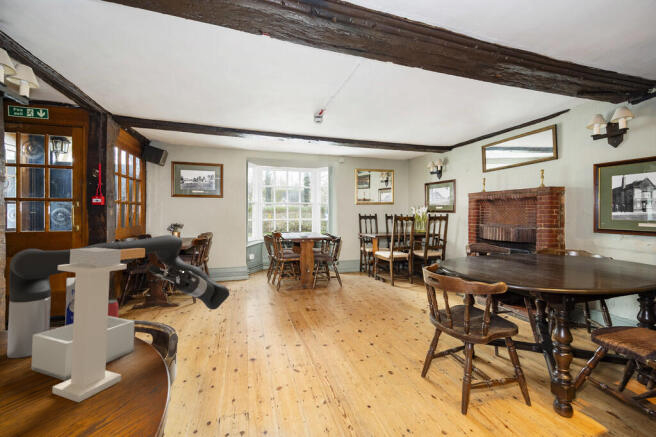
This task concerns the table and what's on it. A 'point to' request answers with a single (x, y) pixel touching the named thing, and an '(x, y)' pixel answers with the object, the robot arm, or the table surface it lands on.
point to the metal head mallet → (103, 256)
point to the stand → (89, 334)
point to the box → (57, 346)
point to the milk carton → (70, 301)
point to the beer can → (113, 308)
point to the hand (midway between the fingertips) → (159, 268)
